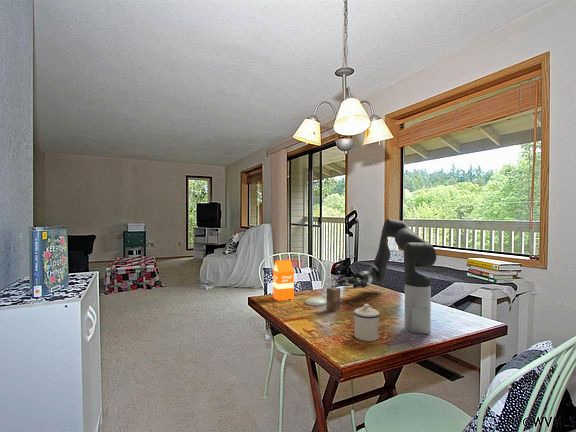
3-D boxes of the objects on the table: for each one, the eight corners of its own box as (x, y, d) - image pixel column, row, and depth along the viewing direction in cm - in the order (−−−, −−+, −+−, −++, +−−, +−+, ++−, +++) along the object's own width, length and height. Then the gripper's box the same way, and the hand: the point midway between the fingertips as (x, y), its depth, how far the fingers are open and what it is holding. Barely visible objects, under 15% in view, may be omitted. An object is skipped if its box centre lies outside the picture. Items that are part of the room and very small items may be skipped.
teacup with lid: (384, 340, 110) (384, 307, 109) (360, 343, 108) (360, 309, 108) (368, 328, 121) (369, 298, 121) (346, 330, 120) (346, 299, 119)
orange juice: (293, 299, 163) (293, 260, 163) (278, 301, 159) (278, 261, 159) (288, 295, 170) (288, 258, 170) (272, 297, 167) (272, 259, 166)
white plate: (326, 306, 150) (326, 304, 150) (303, 305, 152) (303, 302, 152) (328, 300, 160) (328, 297, 160) (307, 299, 163) (307, 296, 163)
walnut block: (340, 309, 145) (340, 288, 145) (334, 312, 141) (334, 289, 141) (332, 307, 148) (332, 286, 148) (326, 310, 144) (326, 288, 144)
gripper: (350, 270, 170) (333, 274, 158) (375, 273, 160) (359, 279, 148) (350, 283, 170) (333, 289, 158) (374, 288, 161) (359, 294, 149)
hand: (346, 284), depth 153 cm, fingers open, 8 cm apart
